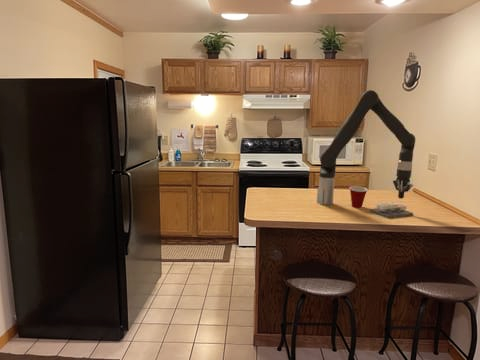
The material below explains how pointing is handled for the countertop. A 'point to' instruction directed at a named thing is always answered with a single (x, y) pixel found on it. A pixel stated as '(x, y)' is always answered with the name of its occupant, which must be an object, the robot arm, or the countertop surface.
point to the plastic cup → (357, 195)
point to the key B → (392, 205)
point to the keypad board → (391, 213)
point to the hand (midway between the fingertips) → (400, 198)
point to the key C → (402, 207)
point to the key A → (382, 207)
